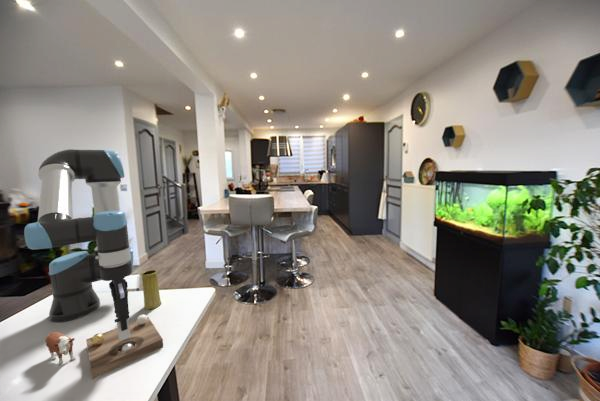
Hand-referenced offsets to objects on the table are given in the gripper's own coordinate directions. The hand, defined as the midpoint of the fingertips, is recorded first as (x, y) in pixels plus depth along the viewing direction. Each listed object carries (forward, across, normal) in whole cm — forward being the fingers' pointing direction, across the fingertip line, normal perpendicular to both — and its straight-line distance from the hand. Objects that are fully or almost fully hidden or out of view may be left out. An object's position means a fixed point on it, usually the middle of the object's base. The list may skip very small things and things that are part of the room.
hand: (124, 338), depth 75 cm
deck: (+4, -2, 0) cm, 4 cm away
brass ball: (0, -5, -6) cm, 8 cm away
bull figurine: (+4, -9, -14) cm, 17 cm away
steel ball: (+2, +3, 0) cm, 4 cm away
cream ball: (0, -7, +6) cm, 9 cm away
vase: (+4, -24, +13) cm, 28 cm away
